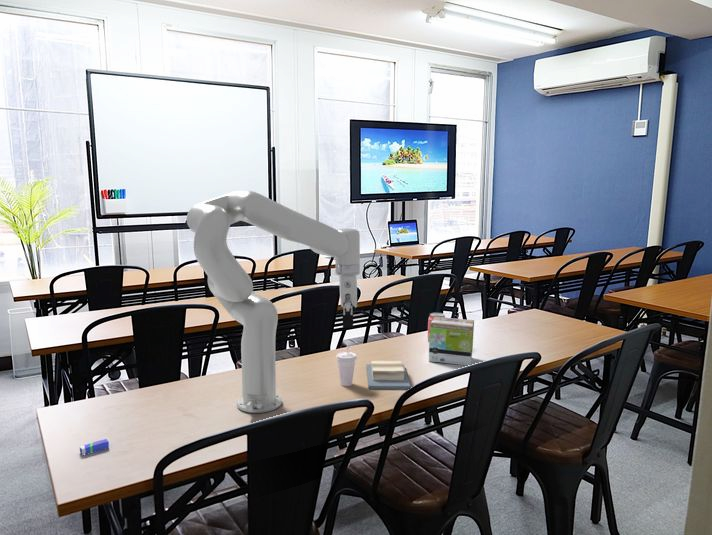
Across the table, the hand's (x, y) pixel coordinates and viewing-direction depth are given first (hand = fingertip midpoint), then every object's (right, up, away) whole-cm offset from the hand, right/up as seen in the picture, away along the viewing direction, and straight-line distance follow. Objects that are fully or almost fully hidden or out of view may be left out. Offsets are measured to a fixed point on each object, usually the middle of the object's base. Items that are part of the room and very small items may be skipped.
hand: (347, 323), depth 169 cm
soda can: (+35, -13, +47) cm, 60 cm away
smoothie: (-1, -20, +3) cm, 20 cm away
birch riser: (+13, -19, +9) cm, 25 cm away
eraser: (-60, -27, -40) cm, 77 cm away
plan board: (+13, -19, +9) cm, 25 cm away
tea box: (+37, -17, +27) cm, 49 cm away
